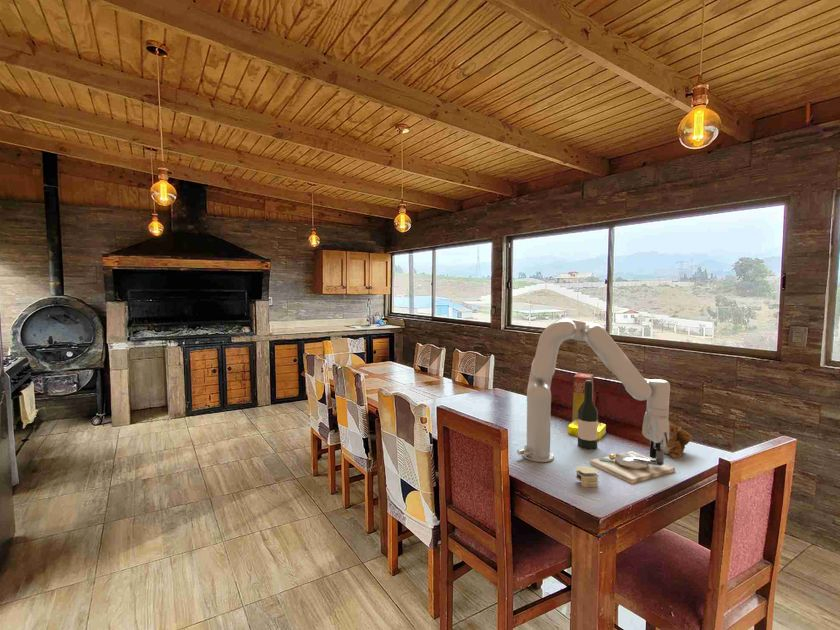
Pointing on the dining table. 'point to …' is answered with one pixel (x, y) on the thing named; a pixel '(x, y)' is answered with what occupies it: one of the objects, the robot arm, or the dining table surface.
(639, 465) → the silver rounded piece
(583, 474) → the tan layered block
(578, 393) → the food packaging
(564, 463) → the dining table surface
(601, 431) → the element tile
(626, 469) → the stand board
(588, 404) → the wine bottle
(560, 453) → the dining table surface
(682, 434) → the stuffed squirrel
